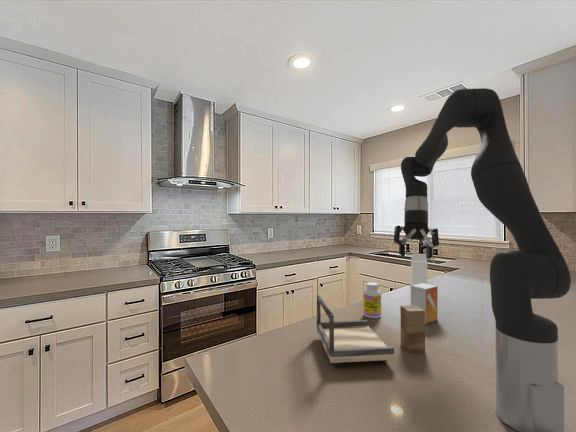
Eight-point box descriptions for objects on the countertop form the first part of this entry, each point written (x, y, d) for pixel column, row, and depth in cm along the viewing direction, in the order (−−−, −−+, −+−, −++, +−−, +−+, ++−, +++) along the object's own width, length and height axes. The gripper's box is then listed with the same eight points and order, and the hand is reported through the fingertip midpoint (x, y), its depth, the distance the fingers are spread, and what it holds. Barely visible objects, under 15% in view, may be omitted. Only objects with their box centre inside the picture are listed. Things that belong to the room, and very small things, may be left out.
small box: (426, 324, 102) (425, 289, 102) (410, 319, 108) (410, 285, 108) (438, 320, 107) (438, 285, 107) (422, 315, 112) (422, 282, 112)
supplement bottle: (361, 317, 110) (361, 284, 110) (365, 311, 116) (365, 280, 116) (379, 320, 107) (379, 286, 107) (382, 314, 113) (382, 282, 113)
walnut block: (425, 351, 83) (424, 310, 83) (408, 352, 82) (408, 311, 82) (416, 343, 88) (415, 305, 88) (400, 344, 87) (400, 305, 87)
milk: (411, 299, 133) (410, 252, 133) (425, 300, 131) (424, 253, 131) (413, 303, 127) (412, 254, 127) (427, 304, 125) (427, 254, 125)
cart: (394, 367, 74) (393, 313, 74) (330, 370, 73) (329, 316, 73) (366, 334, 94) (366, 292, 94) (316, 337, 93) (315, 294, 93)
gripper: (398, 207, 95) (397, 255, 92) (442, 210, 94) (442, 259, 91) (392, 211, 103) (391, 256, 100) (432, 214, 101) (432, 259, 99)
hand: (415, 257), depth 96 cm, fingers open, 8 cm apart
